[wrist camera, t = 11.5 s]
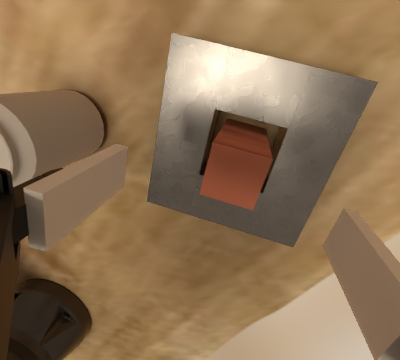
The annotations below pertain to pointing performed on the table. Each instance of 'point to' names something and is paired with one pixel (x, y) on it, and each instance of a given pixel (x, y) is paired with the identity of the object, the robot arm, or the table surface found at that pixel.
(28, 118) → the can
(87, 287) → the table surface
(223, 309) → the table surface
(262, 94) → the socket block
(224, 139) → the peg
